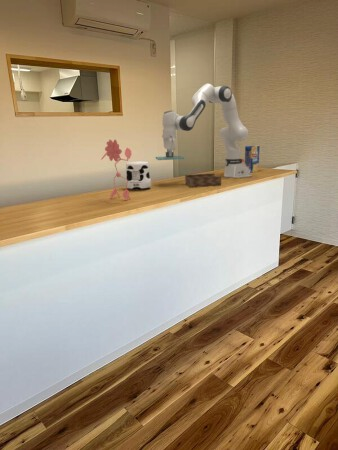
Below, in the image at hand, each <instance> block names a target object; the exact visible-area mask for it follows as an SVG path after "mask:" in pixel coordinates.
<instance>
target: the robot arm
mask: <svg viewBox="0 0 338 450" xmlns="http://www.w3.org/2000/svg"><path fill="white" fill-rule="evenodd" d="M191 103H192V105H193V107H192V109H191V111H190V112H189V113H188V114H186V115H180V114H178V113H177V112H175V111H174V110H168V111H164V112H163V114H162V126H163V127H162V128H163V129H162V134H161V135H162V136H161V137H162V141H163V148H164V149H166V152H169V156H172V152H173V151H174V150H176V141H175V139H176V137H177V136H176V135H177V133H176V131H185V132H189V131H191V130H193V128H194V126H195V124H196V121H197V119H199V117H200V116H201V114H202V112H203V111H204V110H205V108H206V106H207V105H208V103H211V104H219V103H220V104H221V111H222V116H223V121H224V122H225V123H226V124H227V125H228V126H225V127H221V129H220V131H219V137H220V139H221V140H222V141H223V143H224V146H225V162H224V164H225V165H224V166H225V169H224V173H223V177H225V178H235V179H239V178H248V177H252V176H253V174H252V173H249V169H248V168H247V167H246V166H245V158H243V159H242V158H241V147H240V146H239V145H238V144H237V142H241V141H245V140H246V139H248V136H249V130H248V128H247V127H245V125H244V124H243V122H242V121H241V119H240V117H239V111H238V105H237V101H236V99H235V96H234V94H233V93H232V89H231V88H230V86H227V85H220V86H216V87H215V86H214V85H213V84H211V83H204V85H202V86H201V87H200V88H199V89H198V90H197V91H196V92H195V93H194V94H193V96H192V97H191Z"/></svg>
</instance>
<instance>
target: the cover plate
mask: <svg viewBox="0 0 338 450" xmlns="http://www.w3.org/2000/svg"><path fill="white" fill-rule="evenodd" d="M155 160H157V161H168V160H169V161H170V160H171V161H172V160H174V161H175V160H185V156H181V155H174V151H172V156H169V152H167V151H165V156H155Z"/></svg>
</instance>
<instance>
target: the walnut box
mask: <svg viewBox="0 0 338 450" xmlns="http://www.w3.org/2000/svg"><path fill="white" fill-rule="evenodd" d="M184 178H185V180H184V181H185V182H184V183H185V185H186V186H188V187H189V188H203V187H204V188H205V187H206V188H207V187H219V186H220V187H221V186H222V176H221V175H215V172H214V173H200V174H199V173H197V174H185V175H184Z"/></svg>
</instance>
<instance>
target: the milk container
mask: <svg viewBox="0 0 338 450" xmlns="http://www.w3.org/2000/svg"><path fill="white" fill-rule="evenodd" d="M125 165H126V166H125V168H126V169H125V172H126V179H128V182H127V180H126V179H125V186H126V185H127V190H131V191H141V190H148V189H150V188H151V186H152V179H151V175H150V164H149V161H145V160H144V161H138V160H137V161H127V162H126V163H125Z"/></svg>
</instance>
